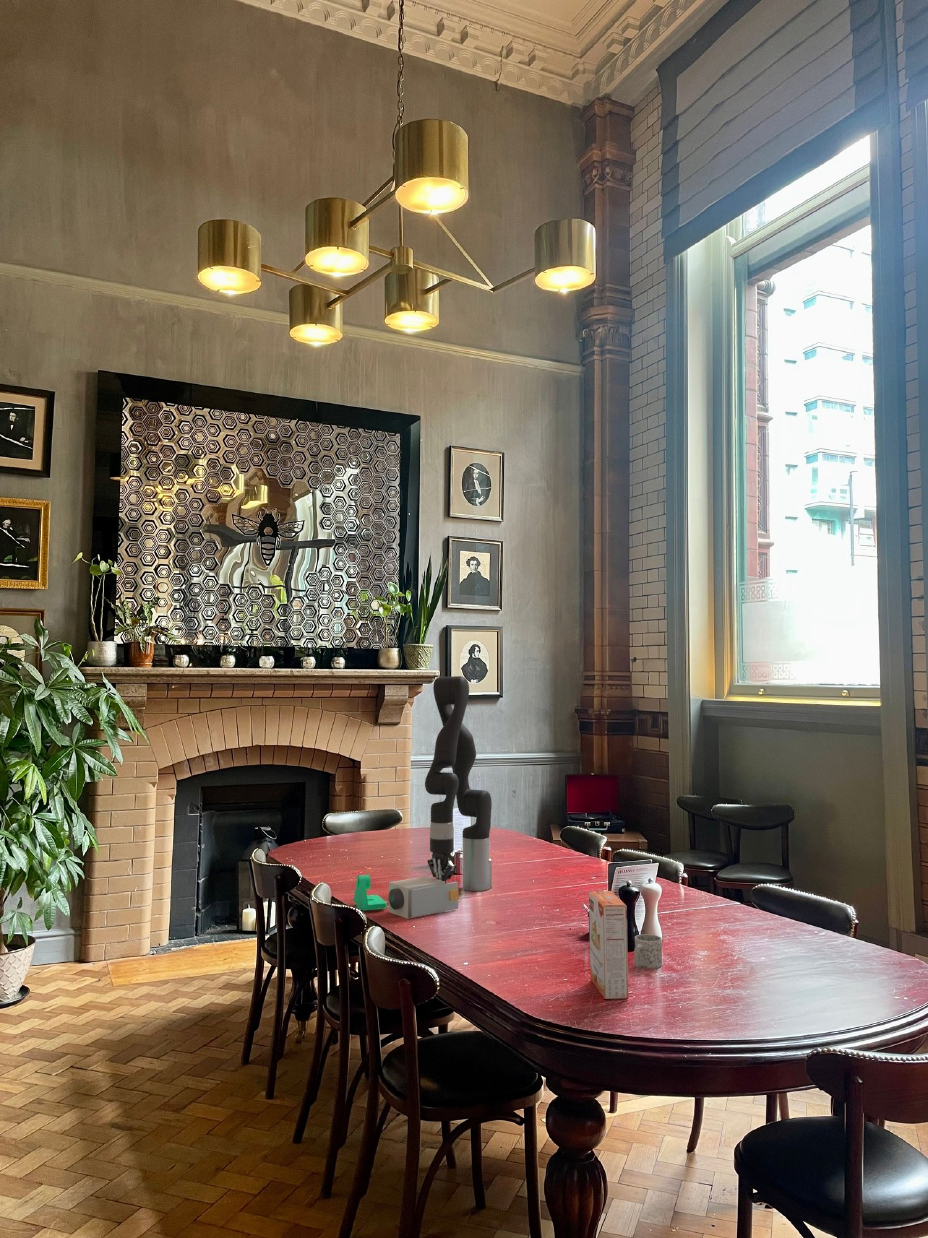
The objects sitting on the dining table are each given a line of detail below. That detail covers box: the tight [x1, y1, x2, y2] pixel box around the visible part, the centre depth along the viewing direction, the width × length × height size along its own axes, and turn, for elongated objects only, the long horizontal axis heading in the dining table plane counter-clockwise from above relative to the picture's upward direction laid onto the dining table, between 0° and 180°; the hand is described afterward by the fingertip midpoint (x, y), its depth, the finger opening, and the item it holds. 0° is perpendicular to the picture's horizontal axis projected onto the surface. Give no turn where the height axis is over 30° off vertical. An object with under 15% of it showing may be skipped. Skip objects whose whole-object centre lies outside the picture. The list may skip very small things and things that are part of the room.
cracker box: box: [588, 890, 629, 1000], centre depth 212 cm, size 14×6×21 cm, turn 5°
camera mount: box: [353, 874, 388, 911], centre depth 287 cm, size 12×8×10 cm, turn 21°
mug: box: [633, 933, 663, 970], centre depth 229 cm, size 10×7×7 cm, turn 141°
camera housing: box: [388, 875, 445, 920], centre depth 282 cm, size 16×10×9 cm, turn 129°
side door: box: [409, 881, 459, 919], centre depth 279 cm, size 18×2×8 cm, turn 129°
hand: (441, 892), depth 288 cm, fingers closed
